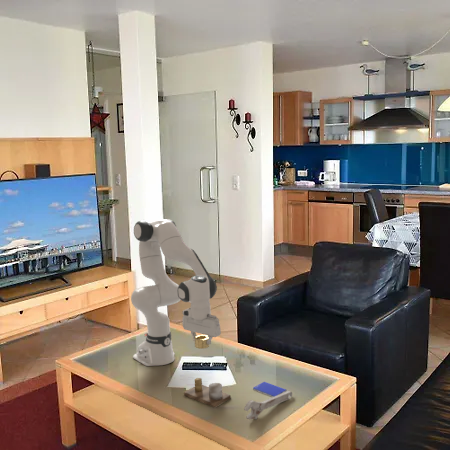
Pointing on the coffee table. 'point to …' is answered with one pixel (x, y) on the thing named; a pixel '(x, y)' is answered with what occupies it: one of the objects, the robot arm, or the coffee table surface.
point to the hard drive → (269, 389)
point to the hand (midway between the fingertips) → (202, 342)
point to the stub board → (207, 393)
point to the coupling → (201, 341)
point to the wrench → (265, 404)
